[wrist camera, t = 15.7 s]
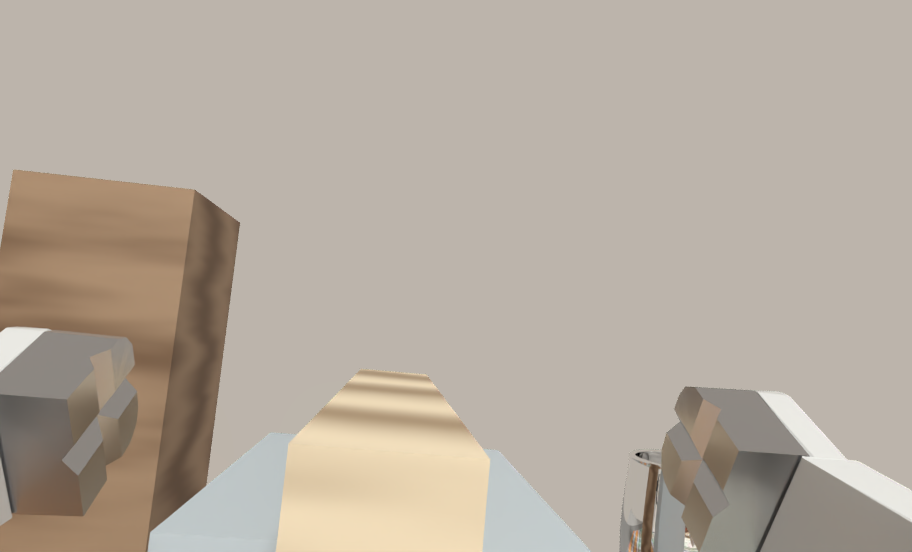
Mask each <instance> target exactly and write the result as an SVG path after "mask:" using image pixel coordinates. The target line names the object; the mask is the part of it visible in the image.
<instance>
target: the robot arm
mask: <svg viewBox="0 0 912 552" xmlns="http://www.w3.org/2000/svg"><path fill="white" fill-rule="evenodd" d="M134 365H135V361H134V354H133V346H132V343H131V342H130V341H129V340H128V339H127V337H118V336H109V335H99V334H90V333H80V332H71V331H61V330H50V329H45V328H31V327H7V328H5V329H4V330H3V331H1V332H0V526H1V525H2V524H4V523H5V522H7V521H8V520H10V519H11V518H12V514H21V515H51V516H82V517H83V516H84V515H85V513H86V512H87V510H88V509H89V507H90V506H91V504H92V502H93V501H94V499H95V498H96V496H97V495H98V493H99V492H100V490H101V489H102V487H103V485H104V484H105V482H106V481H107V474H106V465H108V464H110V463H112V462H113V461H115V460H117V459H119V458H121V457H122V456H123V454H124V452H125V451H126V449H127V447H128V446H129V444H130V442H131V439H132V436H133V433H134V430H135V427H136V423H137V414H138V395H137V391H136V389H135V388H134V387H133V386H132V385H131V384H130V383H129V381H128V380H127V379H126V376H127V375H128V373H129V372H130V371H131V369H132V368H133V367H134ZM675 411H676V414H677V416H678V418H679V420H680V422H679V423H678V424H677V425H675V426H674V427H673V428H672V429H671V430H669V431H668V432H667V434H666V437H665V441H664V444H663V447H662V452H661V469H662V474H663V478H664V482H665V484H666V486H667V489H668V491H669V493H670V495H672V496H673V497H674V498H676V499H677V500H678V501H679V502H681V503H682V504H683V505H685V508H684V511H683V514H682V516H681V518H682V520H683V522H684V524H685V526H686V528H687V530H688V532H689V534H690V536H691V538H692V540H693V542H694V544H695V546H696V548H697V550H698V552H912V490H910V489H908V488H906V487H905V486H903V485H901V484H899V483H897V482H895V481H894V480H892V479H890V478H888V477H886V476H884V475H883V474H881V473H879V472H877V471H875V470H874V469H871V468H870V467H868V466H866V465H864V464H863V463H861V462H859V461H855V460H847V459H846V458H845V457H844V456H843V455H842V453H840V451H839V450H838V449H837V448H836V447H835V446H834V445H833V444H832V442H831V441H830V440H829V439H828V438H827V437H826V436H825V435H824V434H823V432H822V431H821V430H820V429H819V428H818V427H817V426H816V425H815V424H814V423H813V421H812V420H811V419H810V418H809V417H808V416H807V415H806V414H805V413H804V411H802V409H801V408H800V407H799V406H798V405H797V404H796V403H795V401H794V400H793V399H792V398H791V397H790V396H789V395H786V394H784V393H782V392H778V391H757V390H736V389H717V388H701V387H685V388H684V389H683V391H682V392H681V393H680V395H679V397H678V400H677V403H676V406H675Z"/></svg>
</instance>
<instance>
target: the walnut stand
mask: <svg viewBox="0 0 912 552" xmlns="http://www.w3.org/2000/svg"><path fill="white" fill-rule="evenodd" d="M239 226H240V223H239V222H238V221H236V220H235V219H234V218H232V217H231V216H230V215H229V214H227V213H226V212H224V211H223V210H222V209H220V208H219V207H218V206H216V205H215V204H214V203H212V202H211V201H209V200H208V199H207V198H205V197H204V196H203V195H201V194H200V193H198V192H197V191H196V190H192V189H183V188H174V187H166V186H156V185H148V184H139V183H130V182H120V181H111V180H103V179H94V178H85V177H75V176H67V175H57V174H49V173H40V172H31V171H22V170H13V175H12V181H11V187H10V193H9V199H8V205H7V211H6V217H5V223H4V229H3V235H2V242H1V247H0V332H1V331H3V330H4V329H5V328H7V327H31V328H45V329H50V330H61V331H71V332H80V333H90V334H99V335H109V336H118V337H127V339H128V340H129V341H130V342H131V343H132V346H133V354H134V361H135V365H134V367H133V368H132V369H131V371H130V372H129V373H128V375H127V376H126V379H127V380H128V381H129V383H130V384H131V385H132V386H133V387H134V388H135V389H136V391H137V395H138V414H137V423H136V427H135V430H134V433H133V436H132V439H131V442H130V444H129V446H128V447H127V449H126V451H125V452H124V454H123V456H122V457H121V458H119V459H117V460H115V461H113V462H112V463H110V464H108V465H106V474H107V481H106V482H105V484H104V485H103V487H102V489H101V490H100V492H99V493H98V495H97V496H96V498H95V499H94V501H93V502H92V504H91V506H90V507H89V509H88V510H87V512H86V513H85V515H84V516H83V517H82V516H51V515H21V514H12V518H11V519H10V520H8V521H7V522H5V523H4V524H2V525H1V526H0V552H148V545H149V538H150V532H151V531H152V530H154V529H155V528H156V527H157V526H158V525H160V524H161V523H162V522H163V521H165V520H166V519H167V518H168V517H169V516H171V515H172V514H173V513H174V512H175V511H177V510H178V509H179V508H180V507H181V506H183V505H184V504H185V503H186V502H187V501H189V500H190V499H191V498H192V497H193V496H195V495H196V494H197V493H198V492H199V491H201V490H202V489H203V488H204V487H206V483H207V475H208V467H209V460H210V452H211V444H212V436H213V428H214V420H215V413H216V405H217V398H218V389H219V382H220V374H221V366H222V358H223V350H224V343H225V335H226V327H227V319H228V312H229V304H230V296H231V288H232V281H233V273H234V265H235V257H236V250H237V241H238V233H239Z"/></svg>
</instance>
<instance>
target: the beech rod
mask: <svg viewBox="0 0 912 552" xmlns="http://www.w3.org/2000/svg"><path fill="white" fill-rule="evenodd" d="M489 468H490V458H489V457H488V456H487V454H486V453H485V452H484V450H483V449H482V448H481V446H480V445H479V444H478V442H477V441H476V440H475V438H474V437H473V436H472V434H471V433H470V432H469V430H468V429H467V428H466V426H465V425H464V424H463V422H462V421H461V420H460V418H459V417H458V416H457V414H456V413H455V412H454V410H453V409H452V408H451V406H450V405H449V404H448V402H447V401H446V400H445V398H444V397H443V396H442V394H441V393H440V392H439V391H438V389H437V388H436V387H435V385H434V384H433V383H432V381H431V380H430V379H429V377H428V376H427V375H425V374H413V373H402V372H391V371H379V370H369V369H361V370H360V371H359V372H358V373H357V374H356V375H355V376H354V377H353V378H352V379H351V380H350V381H349V382H348V383H347V384H346V385H345V386H344V387H343V388H342V389H341V390H340V391H339V392H338V393H337V394H336V395H335V396H334V397H333V398H332V399H331V400H330V401H329V403H327V404H326V405H325V406H324V408H323V409H322V410H321V411H320V412H319V413H318V414H317V415H316V416H315V417H314V418H313V419H312V420H311V421H310V422H309V423H308V424H307V425H306V426H305V427H304V428H303V429H302V430H301V431H300V432H299V433H298V434H297V435H296V436H295V437H294V438H293V439H292V440H291V441H290V442H289V443H288V452H287V460H286V469H285V478H284V486H283V495H282V503H281V512H280V520H279V529H278V538H277V546H276V552H482V550H483V538H484V526H485V515H486V503H487V492H488V480H489Z"/></svg>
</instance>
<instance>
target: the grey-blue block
mask: <svg viewBox="0 0 912 552" xmlns="http://www.w3.org/2000/svg"><path fill="white" fill-rule="evenodd" d="M296 435H297V434H284V433H269V434H268V435H267V436H266V437H265V438H263V439H262V440H261V441H260V442H259V443H257V444H256V445H255V446H254V447H253V448H252V449H250V450H249V451H248V452H246V453H245V454H244V455H243V456H242V457H240V458H239V459H238V460H237V461H236V462H235V463H233V464H232V465H231V466H230V467H229V468H227V469H226V470H225V471H224V472H223V473H221V474H220V475H219V476H218V477H217V478H215V479H214V480H213V481H212V482H210V483H209V484H208V485H207V486H206V487H204V488H203V489H202V490H201V491H199V492H198V493H197V494H196V495H195V496H193V497H192V498H191V499H190V500H189V501H187V502H186V503H185V504H184V505H183V506H181V507H180V508H179V509H178V510H177V511H175V512H174V513H173V514H172V515H171V516H169V517H168V518H167V519H166V520H165V521H163V522H162V523H161V524H160V525H158V526H157V527H156V528H155V529H154V530H152V531H151V532H150V538H149V545H148V552H276V546H277V538H278V529H279V520H280V512H281V503H282V495H283V486H284V478H285V469H286V460H287V452H288V443H289V442H290V441H291V440H292V439H293V438H294V437H295V436H296ZM483 450H484V452H485V453H486V454H487V456H488V457H489V458H490V468H489V480H488V492H487V503H486V515H485V526H484V538H483V550H482V552H591V551H590V550H589V549H588V548H587V546H586V545H585V544H584V543H583V542H582V541H581V540H580V539H579V538H578V537H577V535H576V534H575V533H574V532H572V530H571V529H570V528H569V527H568V526H567V525H566V524H565V523H564V521H563V520H562V519H561V518H560V517H559V516H558V515H557V514H556V513H555V512H554V511H553V510H552V508H551V507H550V506H549V505H548V504H547V503H546V502H545V501H544V500H543V499H542V497H540V495H539V494H538V493H537V492H536V491H535V490H534V489H533V488H532V487H531V486H530V484H529V483H528V482H527V481H526V480H525V479H524V478H523V477H522V476H521V475H520V474H519V472H517V470H516V469H515V468H514V467H513V466H512V465H511V464H510V463H509V462H508V460H507V459H506V458H505V457H504V456H503V455H502V454H501V453H500V452H499V451H498V450H489V449H483Z"/></svg>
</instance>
